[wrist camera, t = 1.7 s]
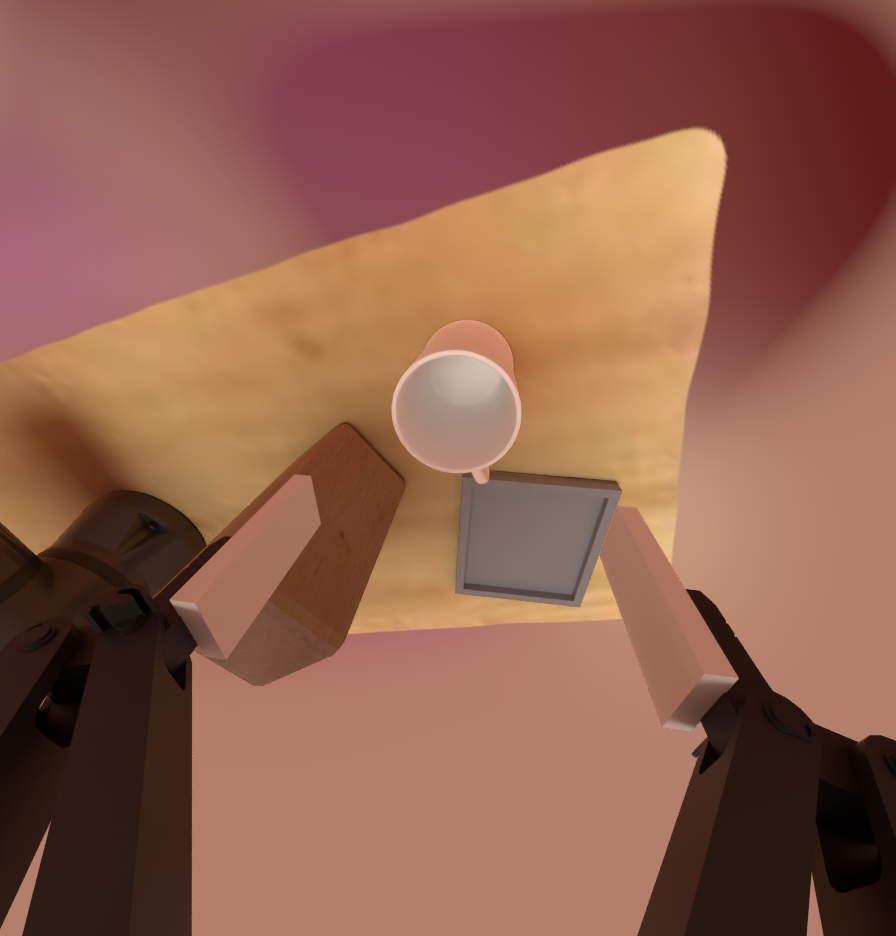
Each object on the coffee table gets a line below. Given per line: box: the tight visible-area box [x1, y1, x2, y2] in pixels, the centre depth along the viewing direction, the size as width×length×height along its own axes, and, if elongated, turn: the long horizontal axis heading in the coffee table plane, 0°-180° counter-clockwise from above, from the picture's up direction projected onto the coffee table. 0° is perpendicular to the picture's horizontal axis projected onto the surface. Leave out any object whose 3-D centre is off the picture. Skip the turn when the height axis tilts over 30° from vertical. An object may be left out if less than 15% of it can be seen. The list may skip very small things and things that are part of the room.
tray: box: [455, 471, 622, 607], centre depth 39 cm, size 16×18×2 cm
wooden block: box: [152, 423, 405, 686], centre depth 29 cm, size 10×10×20 cm
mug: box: [392, 320, 522, 484], centre depth 26 cm, size 12×8×12 cm
